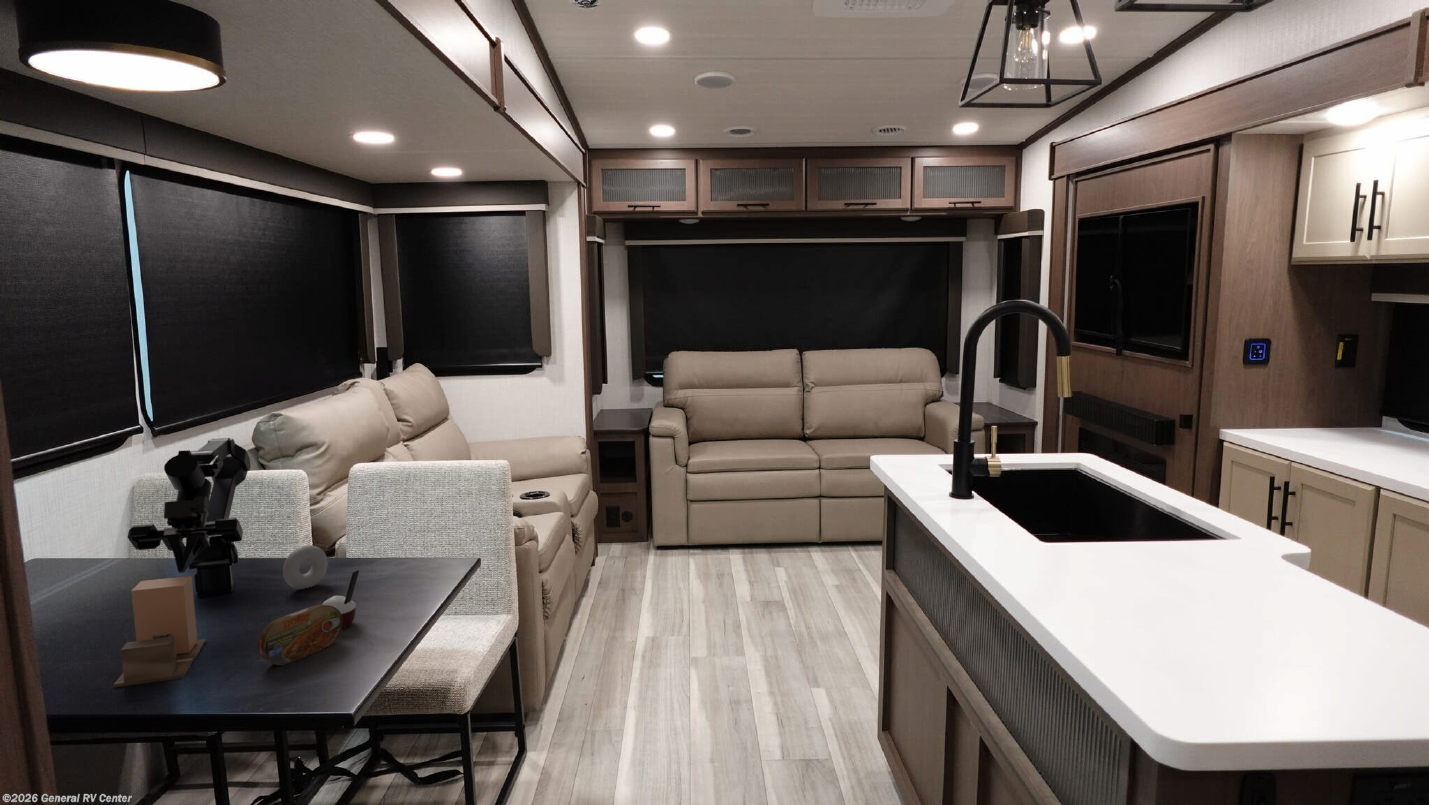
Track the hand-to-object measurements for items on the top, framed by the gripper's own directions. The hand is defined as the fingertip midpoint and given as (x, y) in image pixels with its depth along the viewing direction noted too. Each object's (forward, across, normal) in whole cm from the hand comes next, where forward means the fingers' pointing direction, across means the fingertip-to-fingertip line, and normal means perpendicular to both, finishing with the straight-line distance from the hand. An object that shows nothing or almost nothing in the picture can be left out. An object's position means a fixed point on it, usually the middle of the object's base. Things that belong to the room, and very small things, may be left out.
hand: (180, 571), depth 152 cm
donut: (-4, +19, +21) cm, 29 cm away
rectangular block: (+16, 0, +1) cm, 16 cm away
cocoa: (+14, +29, +4) cm, 32 cm away
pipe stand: (+19, 0, -1) cm, 19 cm away
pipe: (+17, 0, -3) cm, 17 cm away
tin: (+22, +23, -4) cm, 32 cm away
